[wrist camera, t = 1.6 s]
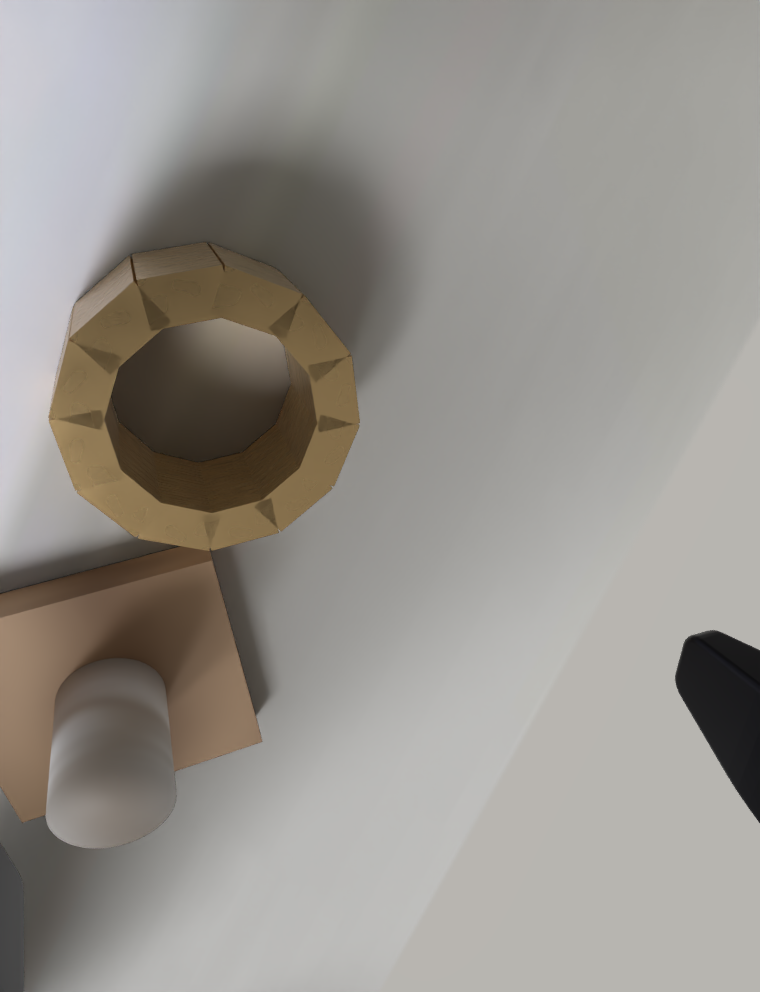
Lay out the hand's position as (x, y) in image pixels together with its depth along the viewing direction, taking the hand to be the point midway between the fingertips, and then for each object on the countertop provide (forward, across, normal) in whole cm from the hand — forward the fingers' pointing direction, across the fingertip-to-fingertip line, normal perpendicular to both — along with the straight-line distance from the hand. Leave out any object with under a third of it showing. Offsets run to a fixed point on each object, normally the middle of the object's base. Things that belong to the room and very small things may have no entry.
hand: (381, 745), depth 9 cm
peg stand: (+12, +6, +9) cm, 16 cm away
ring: (+13, +1, 0) cm, 13 cm away
